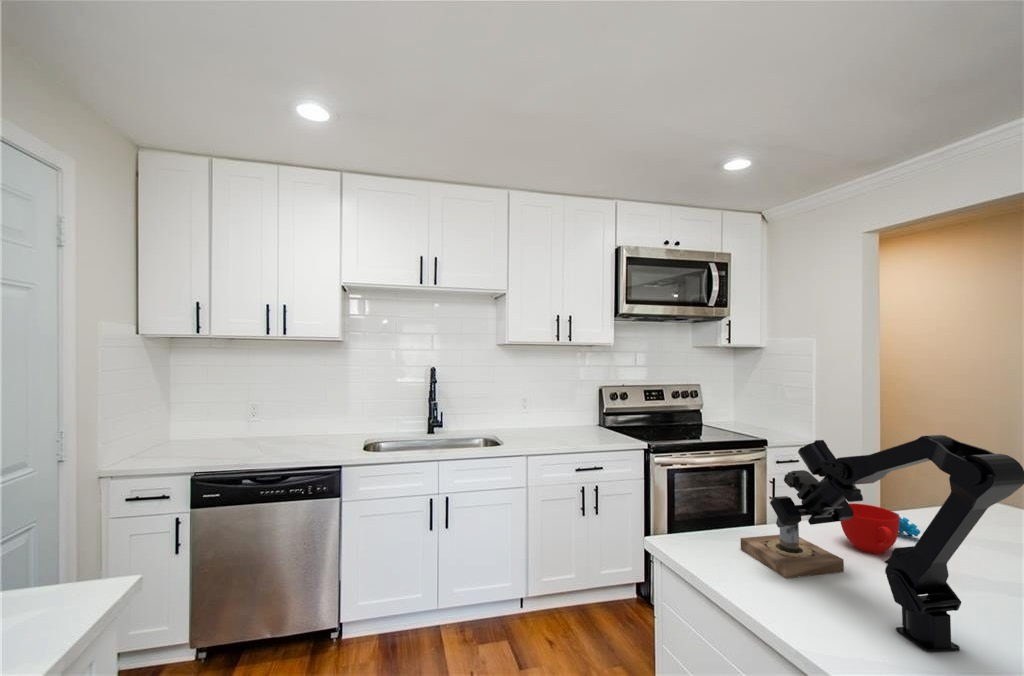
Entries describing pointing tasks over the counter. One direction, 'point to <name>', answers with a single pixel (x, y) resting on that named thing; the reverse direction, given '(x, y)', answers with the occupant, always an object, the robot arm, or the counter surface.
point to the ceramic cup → (871, 528)
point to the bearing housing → (792, 557)
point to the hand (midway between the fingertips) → (793, 524)
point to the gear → (907, 527)
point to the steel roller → (789, 539)
